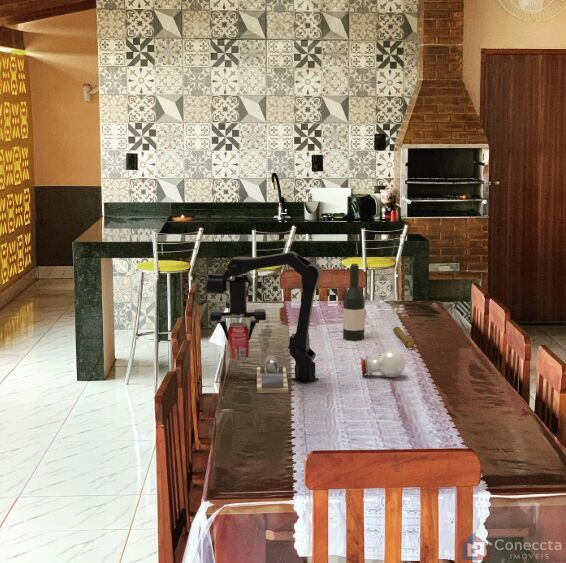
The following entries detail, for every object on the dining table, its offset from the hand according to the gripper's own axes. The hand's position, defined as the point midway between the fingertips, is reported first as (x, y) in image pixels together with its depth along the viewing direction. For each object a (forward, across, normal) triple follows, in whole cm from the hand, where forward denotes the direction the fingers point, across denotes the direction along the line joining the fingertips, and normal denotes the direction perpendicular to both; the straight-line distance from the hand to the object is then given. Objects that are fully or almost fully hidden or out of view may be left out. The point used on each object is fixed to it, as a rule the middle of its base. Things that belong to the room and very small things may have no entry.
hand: (238, 339), depth 336 cm
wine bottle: (+13, -44, -56) cm, 72 cm away
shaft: (+11, -11, -2) cm, 16 cm away
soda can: (+7, 0, 0) cm, 7 cm away
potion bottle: (+13, -49, +2) cm, 51 cm away
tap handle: (+14, -64, -51) cm, 83 cm away
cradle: (+13, -11, +7) cm, 18 cm away
